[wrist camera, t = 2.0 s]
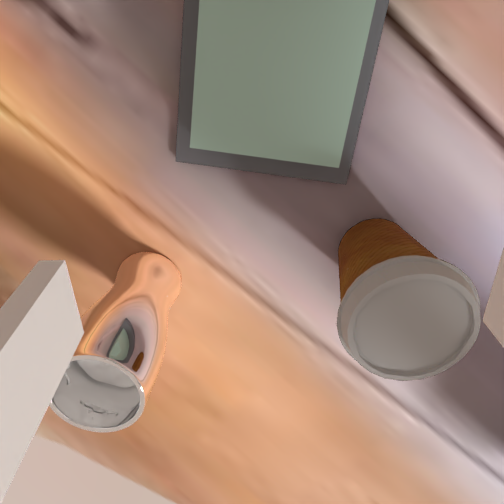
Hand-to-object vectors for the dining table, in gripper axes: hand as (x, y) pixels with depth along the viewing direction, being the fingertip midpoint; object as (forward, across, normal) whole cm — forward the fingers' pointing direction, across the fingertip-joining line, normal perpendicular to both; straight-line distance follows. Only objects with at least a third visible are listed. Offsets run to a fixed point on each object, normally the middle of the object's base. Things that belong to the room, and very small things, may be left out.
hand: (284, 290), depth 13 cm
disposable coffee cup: (+23, -10, +12) cm, 28 cm away
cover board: (+23, -2, -5) cm, 24 cm away
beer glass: (+24, +10, +15) cm, 30 cm away
